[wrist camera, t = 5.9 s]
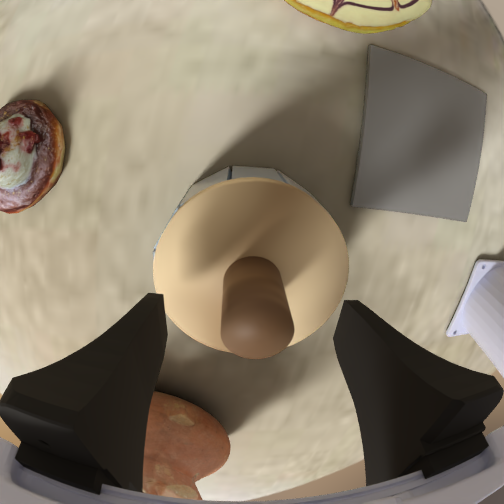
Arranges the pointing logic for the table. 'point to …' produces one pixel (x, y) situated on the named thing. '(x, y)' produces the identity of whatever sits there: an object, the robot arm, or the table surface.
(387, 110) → the rubber mat
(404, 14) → the decorated donut
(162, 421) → the ceramic jug
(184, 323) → the bamboo lid
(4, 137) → the pastry
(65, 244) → the table surface
